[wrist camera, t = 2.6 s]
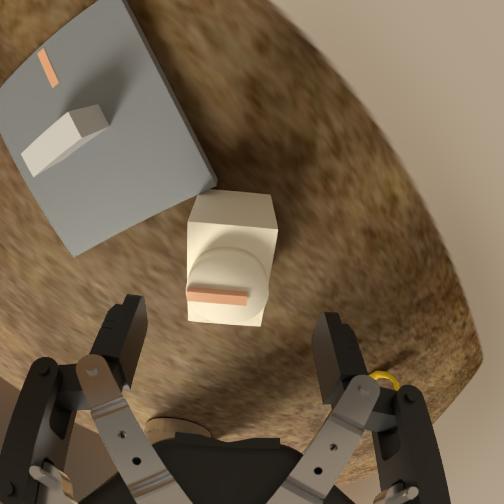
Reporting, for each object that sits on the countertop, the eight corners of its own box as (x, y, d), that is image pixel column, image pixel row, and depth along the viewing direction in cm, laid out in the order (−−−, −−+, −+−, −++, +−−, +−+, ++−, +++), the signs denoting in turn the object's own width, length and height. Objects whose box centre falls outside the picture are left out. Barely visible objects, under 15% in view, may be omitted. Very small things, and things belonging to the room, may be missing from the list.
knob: (270, 194, 19) (281, 246, 14) (257, 279, 22) (261, 346, 17) (200, 188, 19) (181, 237, 13) (197, 274, 22) (184, 339, 17)
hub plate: (218, 179, 18) (210, 209, 14) (80, 249, 21) (52, 286, 17) (123, -7, 12) (89, -27, 8) (-3, 100, 14) (-45, 112, 10)
